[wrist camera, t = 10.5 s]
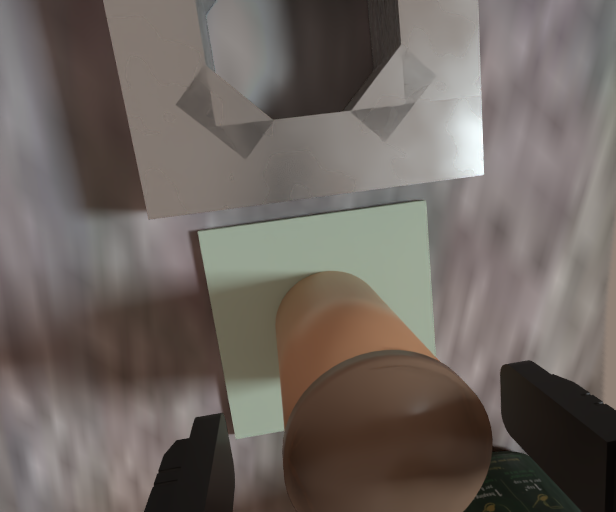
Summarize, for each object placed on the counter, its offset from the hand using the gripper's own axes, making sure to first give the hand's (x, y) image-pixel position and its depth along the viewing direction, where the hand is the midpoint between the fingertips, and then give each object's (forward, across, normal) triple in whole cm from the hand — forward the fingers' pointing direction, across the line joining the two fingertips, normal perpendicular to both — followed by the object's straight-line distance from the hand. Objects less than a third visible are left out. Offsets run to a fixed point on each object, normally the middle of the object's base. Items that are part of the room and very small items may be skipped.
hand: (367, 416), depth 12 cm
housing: (+8, 0, -12) cm, 14 cm away
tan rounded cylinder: (+7, 0, 0) cm, 7 cm away
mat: (+8, 0, 0) cm, 8 cm away
